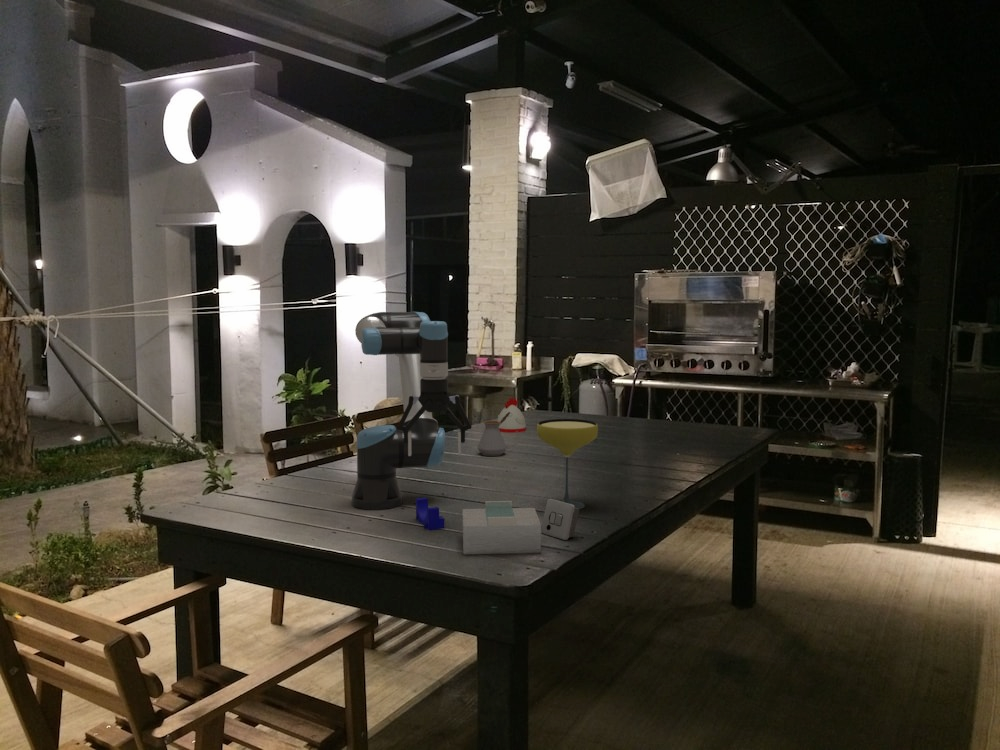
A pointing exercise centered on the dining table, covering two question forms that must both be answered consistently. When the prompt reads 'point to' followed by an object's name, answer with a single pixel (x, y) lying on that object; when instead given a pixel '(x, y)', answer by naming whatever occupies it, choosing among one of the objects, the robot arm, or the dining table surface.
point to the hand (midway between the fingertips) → (434, 454)
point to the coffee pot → (492, 439)
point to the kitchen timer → (512, 418)
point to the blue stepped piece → (429, 515)
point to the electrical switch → (559, 519)
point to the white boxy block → (501, 529)
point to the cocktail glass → (567, 440)
